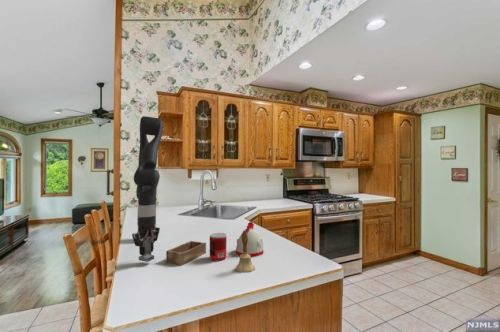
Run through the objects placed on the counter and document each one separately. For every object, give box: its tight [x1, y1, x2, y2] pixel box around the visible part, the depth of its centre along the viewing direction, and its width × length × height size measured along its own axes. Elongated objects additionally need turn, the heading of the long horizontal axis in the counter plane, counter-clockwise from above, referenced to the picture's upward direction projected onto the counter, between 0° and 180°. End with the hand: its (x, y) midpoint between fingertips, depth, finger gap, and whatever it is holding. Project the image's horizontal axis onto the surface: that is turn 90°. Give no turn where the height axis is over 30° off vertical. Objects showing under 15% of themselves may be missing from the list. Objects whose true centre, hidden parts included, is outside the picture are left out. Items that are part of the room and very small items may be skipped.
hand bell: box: [235, 229, 256, 273], centre depth 106 cm, size 8×8×16 cm
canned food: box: [209, 232, 227, 262], centre depth 119 cm, size 8×8×11 cm
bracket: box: [138, 238, 155, 263], centre depth 112 cm, size 5×4×9 cm
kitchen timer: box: [235, 221, 264, 258], centre depth 128 cm, size 14×14×15 cm
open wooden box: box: [165, 240, 207, 266], centre depth 120 cm, size 9×18×5 cm, turn 156°
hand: (146, 253), depth 112 cm, fingers closed on bracket, 4 cm apart
